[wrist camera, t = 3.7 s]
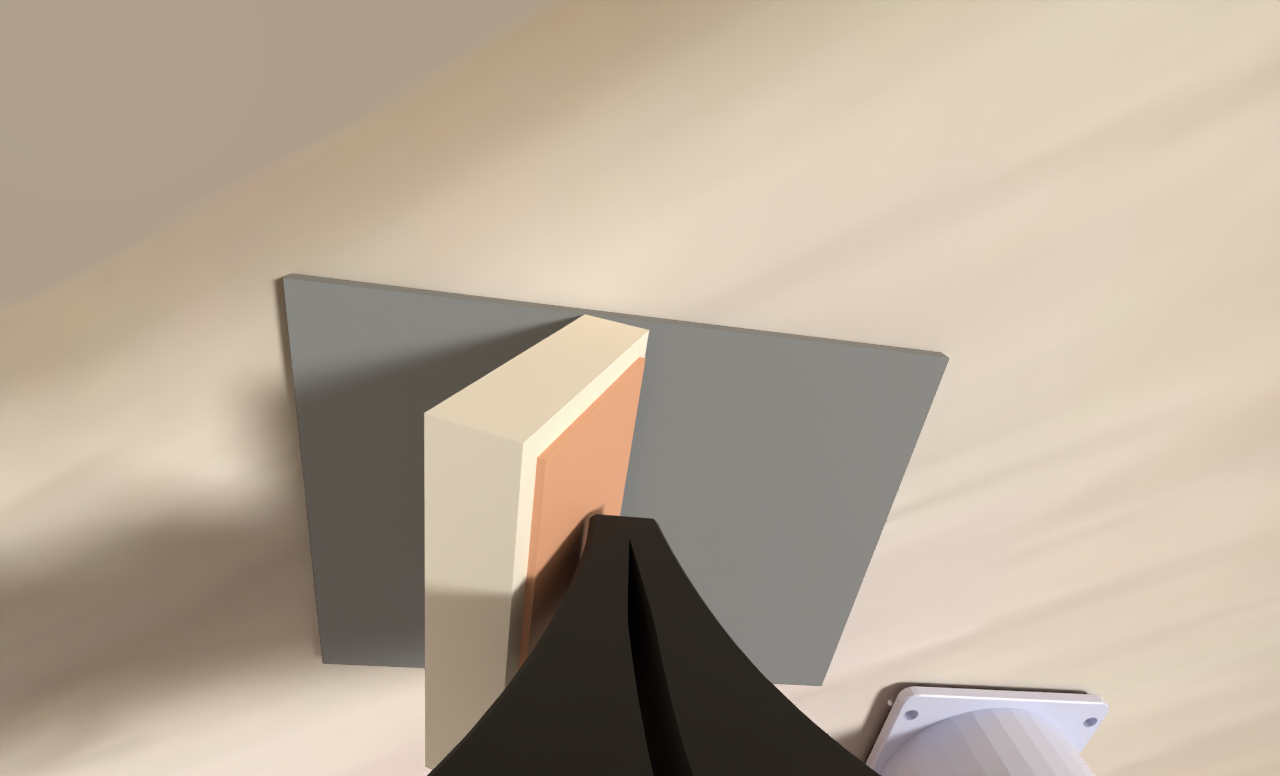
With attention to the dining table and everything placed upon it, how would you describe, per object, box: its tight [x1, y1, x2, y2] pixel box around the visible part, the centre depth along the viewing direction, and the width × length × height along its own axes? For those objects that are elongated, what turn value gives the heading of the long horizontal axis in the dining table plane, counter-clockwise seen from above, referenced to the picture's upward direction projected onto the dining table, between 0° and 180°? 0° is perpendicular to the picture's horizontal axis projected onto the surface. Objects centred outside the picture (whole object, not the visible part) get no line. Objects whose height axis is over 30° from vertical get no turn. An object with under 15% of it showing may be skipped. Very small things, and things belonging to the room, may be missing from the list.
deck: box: [424, 314, 649, 770], centre depth 13 cm, size 8×2×6 cm, turn 172°
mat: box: [283, 274, 949, 686], centre depth 17 cm, size 12×16×1 cm
